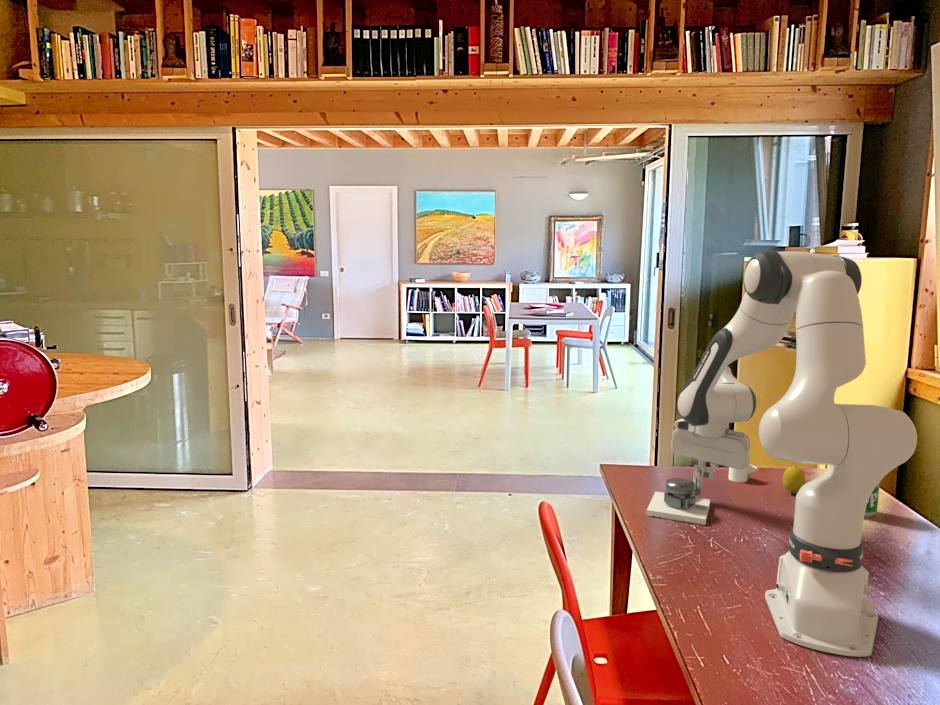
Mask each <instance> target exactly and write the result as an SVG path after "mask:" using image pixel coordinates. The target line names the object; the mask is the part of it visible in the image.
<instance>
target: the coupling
mask: <svg viewBox="0 0 940 705" xmlns="http://www.w3.org/2000/svg"><path fill="white" fill-rule="evenodd" d="M692 470H693V471H692V480H689V479H686V478H679V477H675V478H674V477H673V478H668V479H666V480H665V492H663V493H664V502H666V505H670V506H673V507H676V508H680V509H681V508H682V498H678V497H675V496H674V494H676V495H686V498H685V502H684V508H689V507H691V506H693V505H695V497H697V496H701V495H702V493H703V492H702V491H703V478H704V477H702V470H701V469H700V467H699V464H694V465H693V469H692Z"/></svg>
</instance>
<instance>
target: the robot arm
mask: <svg viewBox="0 0 940 705" xmlns="http://www.w3.org/2000/svg"><path fill="white" fill-rule="evenodd" d="M742 278H743V279H742V281H743V288H744V290H745V291H744V294H743V297H742V299H741V302H740V304H739V307H738V309H737V311H736V312H735V314H734V315H733V317H732V319H730V321H729V322H728V323H727V324H726V325H725V326H724V327H723V328H721V329H720V330H718V331H717V332H716V333H715V334H714V335H713V336H712V339H711V340H710V342H709V344H708V345H707V347H706V349H705V351H704V353H703V354H702V356H701V359H700V360H699V362H698V364H697V365H696V368H695V370H694V371H693V373H692V375H691V376H690V378H689V381H688V382H687V383H686V385H684V387H683V388H682V389H681V391H680V392H679V394H678V396H677V399H676V400H677V401H676V408H677V413H678V414H679V416H680V417H681V418H680V419H678V420H676V421H674V428H675V429H674V430H673V431H672V434H671V439H670V440H671V441H670V450H671V452H672V453H673V454H674V455H679V456H681V457H686V458H690V459H695V460H697V465H699V467H700V469H701V470H702V477H703V478H706V479H709V480H712V479H714V477H715V472H716V470H717V468H719V466H723V467H727V468H729V467H731V468H735V469H739V470H742V469H744V468H746V467H747V466H748V465H749V464H750V445H751V443H750V442H751V439H750V438H749V436H748V435H746V433H745V432H743V431H736V430H733V429H730V424H732V423H735V424H736V423H743V422H748V421H749V420H751V418H752V417H754V414H755V412H756V409H757V396H756V394H755V392H754V390H753V389H752V388H751V387H750V386H749V385H747V384H745V383H744V384H743V383H742V382H741V381H740V380H738V379H737V378H736V377H735V376H734V375H733V373H732V369H731V367H730V366H729V365H730V364H732V363H733V362H735V361H737V360H740V359H741V358H744V357H746V356H751V355H754V354H757V353H759V352H763V351H766V350H769V349H771V348H774V347H775V346H776V345H778V344H779V343H780V342H781V340H783V339H784V337H785V336H786V333H787V332H788V330H789V327H790V325H791V322H792V320H793V317H794V315H795V340H796V347H795V348H796V355H795V356H796V361H795V370H794V371H795V372H794V376H793V379H792V382H791V384H790V385H789V388H788V389H787V391H786V392H785V394H784V395H783V397H781V398H780V399H779V400H778V401H777V402H776V403H775V404H773V405H772V406H770V407H769V408H767V409H766V411H765V412H764V413H763V415H762V416H761V418H760V421H759V425H758V437H759V442H760V444H761V447H762V448H763V449H764V451H765V452H766V454H767V455H769V456H770V457H771V458H773V459H777V460H780V461H783V462H784V461H785V462H790V463H793V464H797V465H799V464H801V465H823V466H824V465H825V466H826V465H827V466H828V468H827V469H826V470H825V472H823V473H822V474H821V475H819V476H818V477H816V478H814V479H812V480H810V481H808V482H805V484H804V485H803V486H802V487H801V488H800V489H799V491H798V492H796V495H795V501H794V502H795V503H794V505H795V506H794V516H793V527H792V528H791V530H790V533H789V537H788V551H787V552H786V553H784V554H782V555H781V556H779V560H778V568H777V569H778V570H777V577H776V585H775V586H776V588H774V589H768V590H765V593H764V598H765V601H766V603H767V606H768V609H769V611H770V614H771V616H772V619H773V621H774V624H775V627H776V629H777V632H778V634H779V636H780V637H781V638H783V639H785V640H787V641H788V642H791V643H794V644H796V645H799V646H802V647H805V648H808V649H811V650H816V651H820V652H824V653H830V654H832V655H834V654H835V655H840V656H846V657H856V658H857V657H871V656H872V654H873V649H874V644H875V641H876V640H875V639H876V636H877V635H876V634H877V628H878V624H879V623H878V622H879V612H878V611H876V610H874V608H875V602H873V601H868V600H867V594H868V595H871V594H872V590H873V587H872V585H869V584H868V582H869V574H870V573H869V571H868V570H867V569H866V568H865V567H864V566H863V558H864V542H863V540H862V534H863V528H864V520H865V518H864V515H865V510H866V506H867V502H868V500H869V498H870V495H871V494H872V492H873V490H874V489H875V487H876V486H877V484H878V483H879V482H880V483H881V481H882V480H883V479H884V478H885V477H886V476H887V475H888V474H889V473H890V472H891V471H892V470H894V469H896V468H897V467H899V466H901V465H902V464H904V463H906V462H907V461H908V460H909V459H910V458H911V457H912V456H913V455H914V452H915V451H916V448H917V445H918V433H917V429H916V426H915V424H914V422H913V421H912V420H911V418H910V417H909V416H908V414H906V413H905V412H904V411H903V410H898V409H894V408H890V407H885V406H881V405H877V404H876V405H875V404H851V403H850V404H847V403H844V404H843V403H835V394H836V390H837V389H838V388H839V387H843V386H844V385H846V384H848V383H851V382H852V381H853V380H856V379H857V378H859V377H860V375H861V374H862V373H863V372H864V370H865V369H866V368H865V367H866V364H867V363H866V361H867V360H866V359H867V358H866V345H865V335H864V332H865V331H864V323H863V322H864V321H863V314H862V309H861V308H862V307H861V303H860V299H859V293H860V291H861V287H862V284H863V283H862V282H863V278H862V273H861V270H860V267H859V265H858V264H857V262H856V261H855V260H852V259H850V258H847V257H845V256H841V255H829V254H828V255H827V254H822V253H815V252H814V253H813V252H808V251H800V250H781V251H776V250H774V249H773V250H766V251H764V250H763V251H760V252H756V253H754V254H753V255H752V256H751V258H750V259H748V261H747V263H746V265H745V267H744V272H743V277H742ZM707 463H709V467H711V468H710V469H708V467H707V465H706V464H707Z"/></svg>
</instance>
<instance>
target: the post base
mask: <svg viewBox="0 0 940 705" xmlns="http://www.w3.org/2000/svg"><path fill="white" fill-rule="evenodd" d="M664 493H665V492H663V491H662V492H660V491H654V493H653V496H652V498H651V500H650V502H649V505H648V506H647V508H646V512H645V513H646V514H645V515H647V516H648V517H652V516H655V517H654V518H658V517H661V518H660V519H665V518H666V520H672V521H679V522H683V521H684V522H685V523H689V522H690V524H697V525H701V526H705V525H706V523H707V519H708V514H709V511H710V507H711V499H710V498H704V497H697V496H695V505H693V506H691V507H689V508H684V502H685V498H686V495H676V494H674V496H675V497H678V498H682V508H681V509H680V508H676V507H673V506H670V505H666V502H664ZM647 516H646V517H647Z"/></svg>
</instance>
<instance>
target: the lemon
mask: <svg viewBox="0 0 940 705" xmlns="http://www.w3.org/2000/svg"><path fill="white" fill-rule="evenodd" d="M782 483H783V486H784V488H785V489H786V490H787V491H788V492H790V493H791V494H792V495H794V494H797V493H798V491H799V489H800V488H801V487H802V486H803V485H804V484H806V475H805V472H804V471H803V469H802V468H800V467H798V466H797V465H793V466H792V465H791V466H789V467H787V468H786V469H785V470H784V473H783V474H782Z"/></svg>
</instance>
